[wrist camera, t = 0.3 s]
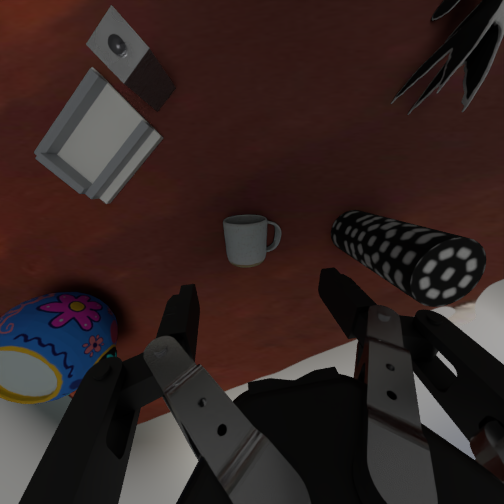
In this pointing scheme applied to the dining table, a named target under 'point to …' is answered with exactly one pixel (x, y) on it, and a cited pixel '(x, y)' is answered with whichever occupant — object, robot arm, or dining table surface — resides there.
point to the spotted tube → (412, 256)
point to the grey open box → (97, 140)
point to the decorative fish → (465, 49)
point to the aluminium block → (130, 59)
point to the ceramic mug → (248, 239)
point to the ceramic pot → (53, 345)
